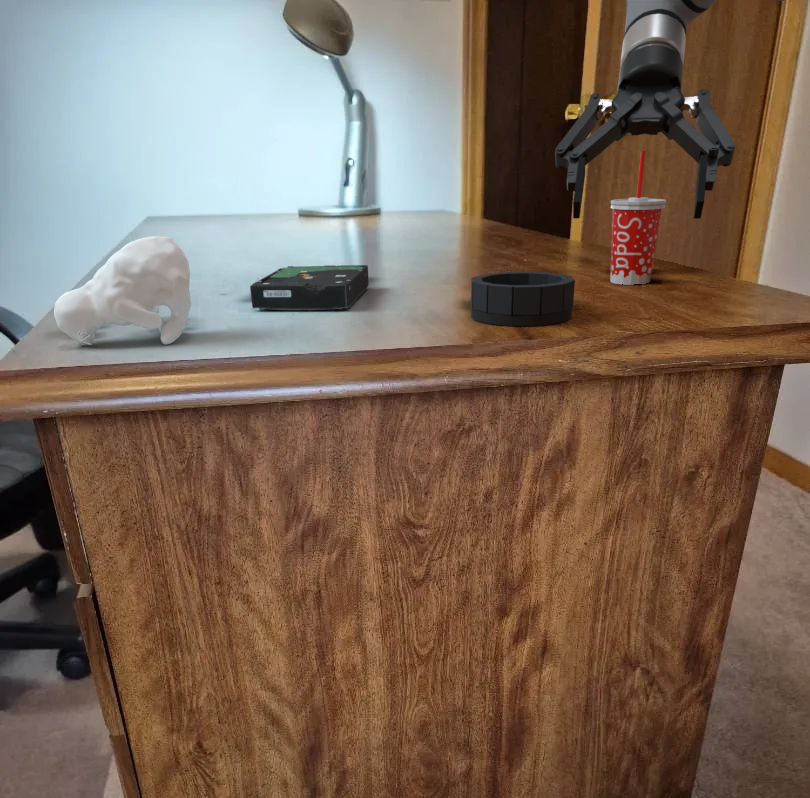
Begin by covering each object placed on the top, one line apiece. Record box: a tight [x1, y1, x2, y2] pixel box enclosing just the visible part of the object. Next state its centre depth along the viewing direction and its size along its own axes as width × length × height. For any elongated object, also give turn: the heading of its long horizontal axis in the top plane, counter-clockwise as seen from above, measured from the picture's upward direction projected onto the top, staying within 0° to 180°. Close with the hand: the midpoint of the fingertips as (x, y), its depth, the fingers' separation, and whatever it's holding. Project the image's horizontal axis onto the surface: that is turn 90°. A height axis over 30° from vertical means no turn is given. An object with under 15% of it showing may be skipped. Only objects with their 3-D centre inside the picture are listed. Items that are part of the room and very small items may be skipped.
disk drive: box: [249, 264, 370, 311], centre depth 87 cm, size 10×3×15 cm
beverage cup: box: [609, 150, 667, 286], centre depth 91 cm, size 6×6×14 cm
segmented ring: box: [470, 271, 576, 327], centre depth 76 cm, size 10×10×4 cm
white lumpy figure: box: [53, 235, 192, 346], centre depth 68 cm, size 6×8×12 cm
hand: (636, 210), depth 91 cm, fingers open, 13 cm apart
